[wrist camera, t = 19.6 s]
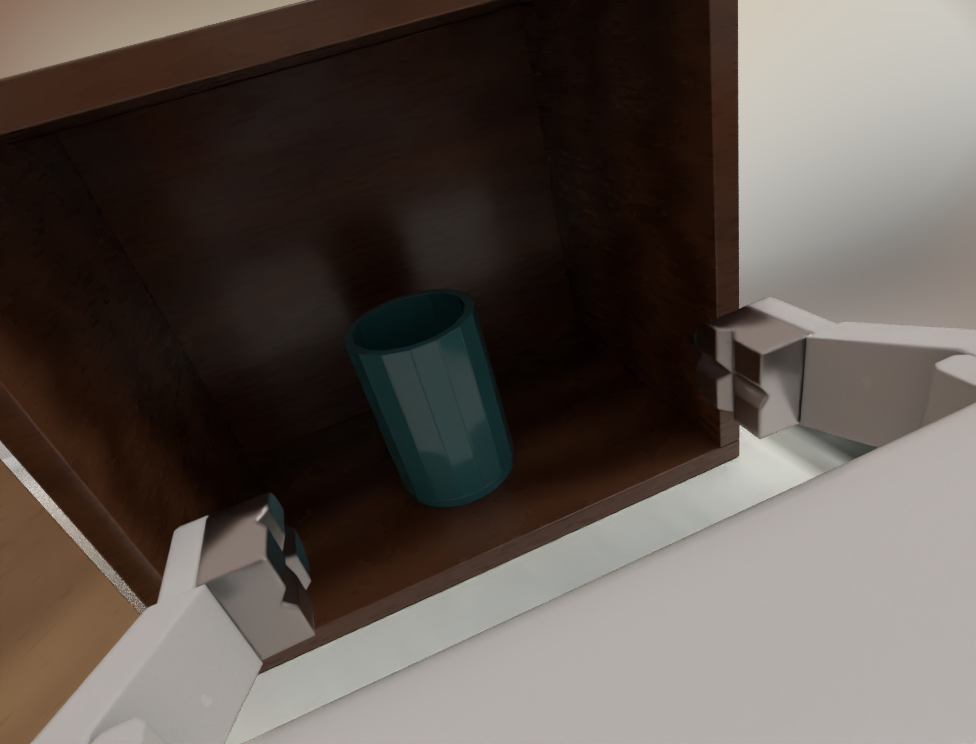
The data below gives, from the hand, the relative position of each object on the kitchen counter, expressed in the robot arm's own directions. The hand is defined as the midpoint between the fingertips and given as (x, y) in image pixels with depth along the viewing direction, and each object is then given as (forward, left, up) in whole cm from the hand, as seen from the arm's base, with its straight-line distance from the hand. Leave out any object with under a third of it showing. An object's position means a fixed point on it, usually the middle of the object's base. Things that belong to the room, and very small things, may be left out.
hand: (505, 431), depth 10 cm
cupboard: (+20, 0, -16) cm, 26 cm away
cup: (+19, 0, -15) cm, 24 cm away
